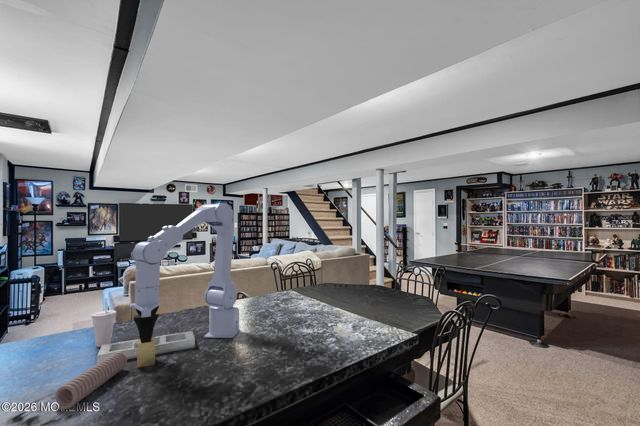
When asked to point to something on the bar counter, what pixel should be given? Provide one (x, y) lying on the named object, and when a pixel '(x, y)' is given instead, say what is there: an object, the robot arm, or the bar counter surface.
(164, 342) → the rail
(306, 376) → the bar counter surface
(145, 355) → the drilled wooden block
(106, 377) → the coil
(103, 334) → the smoothie
